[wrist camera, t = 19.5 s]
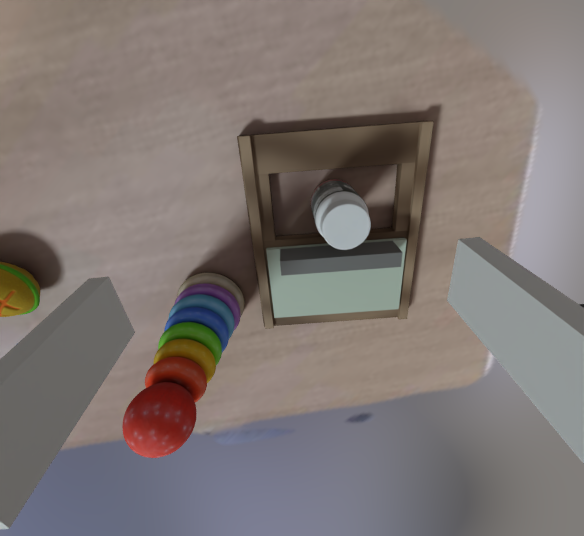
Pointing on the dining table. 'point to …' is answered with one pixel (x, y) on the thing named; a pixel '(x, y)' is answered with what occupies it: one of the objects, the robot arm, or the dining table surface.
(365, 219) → the pill bottle
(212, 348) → the stacking toy
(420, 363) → the dining table surface
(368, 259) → the lid
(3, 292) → the toy pineapple
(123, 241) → the dining table surface
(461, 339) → the dining table surface
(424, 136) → the wooden frame
